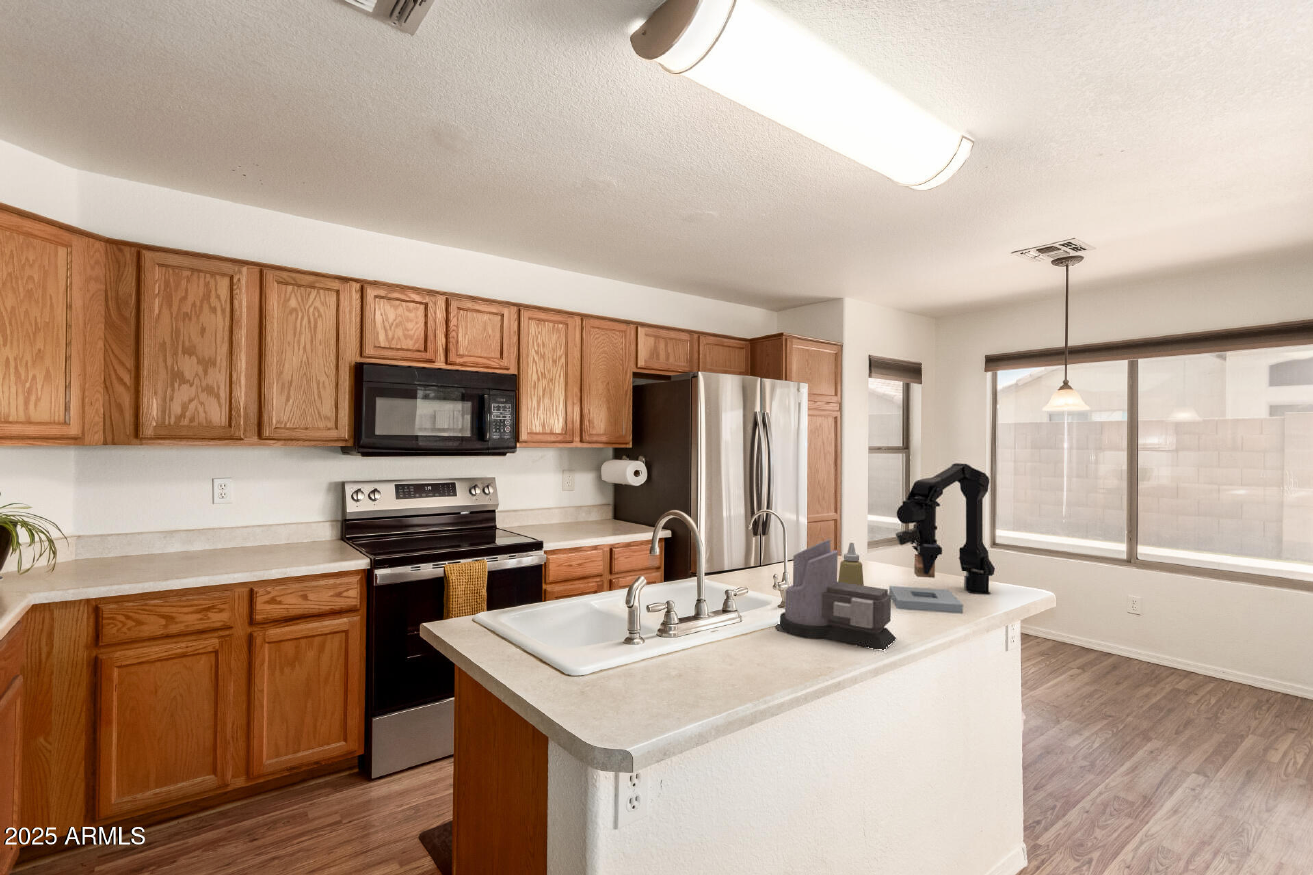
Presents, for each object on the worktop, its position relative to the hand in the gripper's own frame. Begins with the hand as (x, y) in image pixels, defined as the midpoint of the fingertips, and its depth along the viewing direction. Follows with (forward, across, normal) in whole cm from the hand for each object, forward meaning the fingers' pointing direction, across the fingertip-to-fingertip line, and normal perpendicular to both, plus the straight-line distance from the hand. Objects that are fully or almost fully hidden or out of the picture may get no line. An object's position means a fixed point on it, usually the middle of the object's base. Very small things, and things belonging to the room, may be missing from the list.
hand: (924, 572), depth 197 cm
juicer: (+10, +38, -29) cm, 49 cm away
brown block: (+1, 0, 0) cm, 1 cm away
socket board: (+10, 0, 0) cm, 10 cm away
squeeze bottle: (+10, +4, -22) cm, 24 cm away
